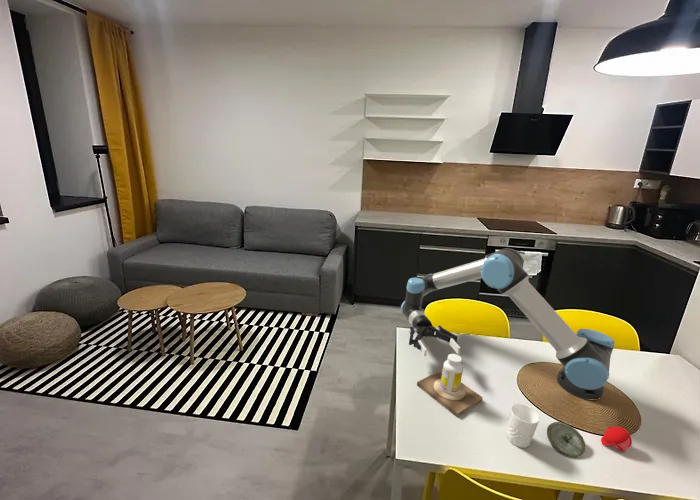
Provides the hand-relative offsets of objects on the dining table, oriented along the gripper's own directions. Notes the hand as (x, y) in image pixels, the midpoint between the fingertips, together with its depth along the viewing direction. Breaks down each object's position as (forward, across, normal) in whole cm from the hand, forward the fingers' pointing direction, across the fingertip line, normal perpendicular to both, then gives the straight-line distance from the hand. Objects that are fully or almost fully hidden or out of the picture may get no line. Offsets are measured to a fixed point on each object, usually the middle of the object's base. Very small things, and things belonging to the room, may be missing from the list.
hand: (442, 352), depth 130 cm
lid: (+34, -26, -11) cm, 45 cm away
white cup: (+31, -12, -11) cm, 35 cm away
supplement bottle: (+9, 0, -9) cm, 13 cm away
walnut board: (+9, 0, -11) cm, 14 cm away
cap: (+37, -42, -11) cm, 57 cm away
